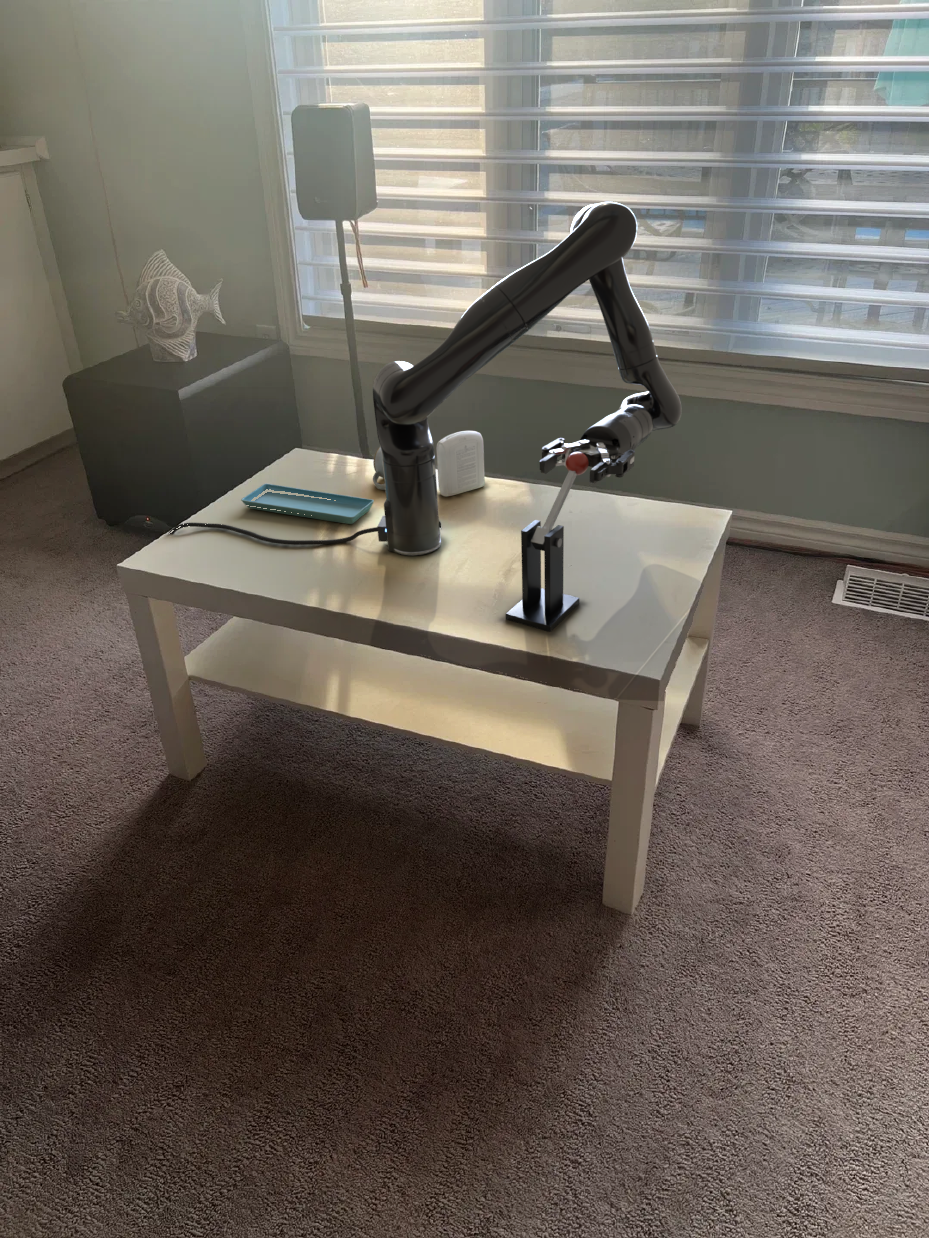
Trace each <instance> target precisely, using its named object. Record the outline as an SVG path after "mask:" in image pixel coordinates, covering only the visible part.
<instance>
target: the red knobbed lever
mask: <svg viewBox="0 0 929 1238" xmlns="http://www.w3.org/2000/svg"><path fill="white" fill-rule="evenodd" d="M588 465H589V461H588V458H587V457H586V455H585V454H583V453H581V452H574V453H572V454H570V453H569V456H568V457H567V459H566V467H565V468H566V470H567V471H568V472H567V474H566V476H565V478H564V480H563V483H562V485H561V486H560V488H559V492H558V494H557V496H556V498H555V500H554V502H553V505H552V506H551V508H550V511H549V513H548V515H547V517H546V520H545V522H544V524H543V526H541V527H539V526H537V529H536V531H535V533H534V535H533V537H532V539H531V543H532V545H533V546H534V548H535V549H538V550H541V552H544V536H545V535H546V534H547V533H549V532H550V531H551V530H552V529H554V526H555V523H556V521H557V519H558V517H559V515H560V514H561V513H560V512H561V511H562V509H563V506H564V504H565V502H566V500H567V498H568V496H569V493H570V491H571V488H572V486H573V484H574V482H575V480H576V477H577V476H580V475H583V474H584V473H586V471H587V470H588V468H589V466H588Z"/></svg>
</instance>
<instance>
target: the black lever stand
mask: <svg viewBox="0 0 929 1238" xmlns="http://www.w3.org/2000/svg"><path fill="white" fill-rule="evenodd" d="M541 525H542V523H541V520H538V519H534V520H533V521H532V522H531V523H529V524H528V525H526V526H525V527H524V528H523V529H521V530H520V543H521V545H520V547H521V549H520V550H521V587H522V588H521V595H522V596H521V597H522V598H521V600H520V601H518V602H517V603H516V604H515V605H514V606H512V607H511V609H509V610H508V611H507V612H506V613H505V620H506V621H509V622H513V623H517V624H520V625H522V626H523V625H524V626H528V627H530V628H534V629H538V630H542V631H544V632H548V633H551V632H552V631H553V630H554V629H555V628H556V627H557V626H558V625H559V624H560V623H561V622H562V621H563V620H564V619H565V618H566V617H567V616H568V615H569V614H571V613H572V611H574V609H575V608H576V607H578V605H580V597H578V596H574V595H570V594H565V593H564V552H565V551H564V546H565V545H564V544H565V542H564V538H565V537H564V536H565V535H564V533H565V532H564V531H565V529H564V528H565V527H564V525H560V524H557V525H555V527H553V528H552V530H551V531H550V532H549V533H547V534H546V535H545V536H544V551H543V552H544V553H543V554H544V555H543V556H544V561H543V563H544V588H543V587H542V550H538V549H535V548H534V546H533V545H532V543H531V539H532V537H533V535H534V533H535V531H536V529H537V526H539V527H542V526H541Z"/></svg>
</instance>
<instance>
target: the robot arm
mask: <svg viewBox="0 0 929 1238" xmlns="http://www.w3.org/2000/svg"><path fill="white" fill-rule="evenodd" d="M637 234H638V222H637V218H636V216H635V214H634V213H633V211H632V210H631V209H630V208H629V207H628V206H626V205H624V204H621V203H618V202H615V201H614V202H613V201H604V202H598V203H594V204H593V203H592V204H589V205H587V206H585V207H583V208H582V209H581V210H580V211H578V212H577V213H576V215H575V216H574V218H573V220H572V223H571V226H570V234H568V236H566V237H565V238H564V239H563V240H562V241H561V242H560V243H559V244H558V245H556V246H555V247H553V249H551V250H550V251H549V252H546V253H545V254H544V255H542V256H540V257H539V258H537V259H535V260H533V261H531V262H529V263H527V264H526V265H524V266H522V267H520V268H518V269H517V270H515V271H514V272H511V273H510V274H509V275H507V276H505V277H504V278H502V279H501V280H499V281H498V282H497V283H496V284H494V285H493V286H491V288H489V289H488V290H487V291H486V292H484V293H483V294H482V295H481V296H479V297H478V298H477V299H476V300H475V301H473V303H471V304H470V306H469V307H468V308H467V309H466V310H465V312H464V313H463V314H462V316H461V317H460V318H459V320H458V321H457V323H455V326H454V327H453V328H452V330H451V331H450V333H449V334H448V336H447V337H446V338H445V340H444V341H443V342H442V343H441V344H440V345H439V346H438V347H437V348H436V349H434V350H433V351H432V352H431V353H430V354H428V355H427V356H425V357H424V358H422V359H421V360H420V361H419V362H417V363H416V364H414V365H413V364H412V363H410V362H407V361H403V360H401V361H400V360H396V361H391V362H388V363H387V364H385V365H383V366H382V367H380V369H379V370H378V372H377V373H376V375H375V377H374V379H373V384H372V400H373V410H374V419H375V425H376V434H377V439H378V443H379V447H381V452H382V460H383V470H384V478H383V479H384V484H385V490H384V491H385V499H384V502H383V510H384V515H382V517H381V519H380V520H379V522H378V524H377V526H376V527H369V528H364V529H361V530H359V531H356V532H355V533H353V534H352V535H350V536H347V537H342V538H335V539H312V540H311V539H309V540H308V539H305V540H304V539H303V540H301V539H299V540H297V539H296V540H295V539H280V538H274V537H268V536H264V535H261V534H258V533H255V532H253V531H250V530H247V529H244V528H240V527H236V526H233V525H229V524H223V523H211V522H210V523H208V522H184V525H183V523H180V524H178V525H176V526H174V527H173V528H171V530H169V532H168V534H169V533H170V532H171V531H172V530H174V531H173V532H172V533H170V534H169V535H174V534H175V533H176V532H177V531H179V530H181V529H184V528H189V527H188V526H190V528H192V527H193V528H194V527H195V528H209V529H212V528H213V529H223V530H228V531H232V532H235V533H238V534H242V535H245V536H249V537H252V538H255V539H257V540H260V541H263V542H267V543H273V544H279V545H297V546H305V545H306V546H307V545H308V546H309V545H312V546H313V545H315V546H316V545H317V546H319V545H336V544H343V543H347V542H351V541H353V540H355V539H357V538H358V537H360V536H362V535H366V534H371V533H377V537H378V538H377V539H378V542H380V543H381V542H382V543H383V542H387V548H388V549H387V550H388V552H394V553H396V554H398V555H402V556H410V557H411V556H412V557H413V556H423V555H426V554H430V553H433V552H435V551H436V550H438V549H439V548H440V547H441V545H442V538H441V530H442V522H441V520H440V513H439V511H440V510H439V499H438V484H437V483H438V482H437V470H436V458H435V457H436V455H435V444H434V439H433V436H432V432H431V429H430V425H429V419H428V417H429V416H431V414H433V413H434V412H435V411H436V410H438V408H439V407H440V406H441V405H442V404H443V402H445V401H446V400H447V399H448V398H449V397H450V396H451V395H452V394H453V393H454V392H455V391H456V390H457V389H458V388H459V387H460V386H462V384H463V383H465V382H466V381H467V380H468V379H469V378H471V376H473V375H474V374H475V373H477V372H478V371H480V370H481V369H482V368H483V367H485V366H486V365H487V364H488V363H490V362H491V361H492V360H493V359H495V358H496V357H497V356H499V355H500V354H501V353H503V352H504V351H505V350H506V349H508V348H509V347H510V346H512V345H513V344H514V343H515V342H517V341H518V340H519V339H521V337H523V336H525V334H526V333H527V332H529V331H531V330H532V329H533V328H534V327H535V326H536V325H537V324H538V323H539V322H540V321H542V320H543V319H544V318H545V317H546V316H547V315H548V314H550V313H551V312H552V311H553V310H554V309H555V308H557V306H559V305H560V304H561V303H562V302H563V301H564V300H565V299H566V298H567V297H568V296H569V295H570V294H572V293H573V292H574V291H575V290H576V289H578V288H579V287H581V286H582V285H583V284H585V283H586V282H587V281H588V282H589V284H590V286H591V288H592V291H593V294H594V296H595V298H596V301H597V304H598V306H599V309H600V313H601V315H602V318H603V321H604V325H605V327H606V331H607V334H608V337H609V342H610V344H611V348H612V352H613V356H614V359H615V362H616V367H617V369H618V373H619V376H620V378H621V380H622V382H623V383H625V384H630V385H639V386H642V387H644V388H645V389H646V390H647V391H644V392H639V393H638V392H637V393H634V394H631V395H629V396H627V397H626V398H624V399H623V400H622V402H621V404H620V406H619V407H618V410H616V411H615V412H613V413H611V414H608V415H606V416H604V418H601V419H600V420H598V421H597V422H596V423H595V424H593V425H591V426H590V427H589V428H587V429H586V430H585V431H583V434H582V435H581V437H580V438H579V440H577V441H574V442H572V443H565V442H566V441H565V440H566V439H565V438H564V437H558V438H556V439H554V440H552V441H551V442H549V443H548V444H546V445H544V446H542V447H541V459H540V460H539V471H540V473H541V474H542V475H546V474H548V473H549V472H552V470H553V469H555V468H557V467H560V466H561V467H562V466H564V467H565V468H566V459H567V457H568V456H569V455H570V454H572V453H574V452H581V453H583V454H585V455H586V457H587V458H588V461H589V465H588V467H591V468H590V470H589V484H593V485H594V484H597V482H600V481H603V479H605V478H609V477H611V476H612V475H614V476H615V478H618V479H619V478H623V477H624V476H625V475H627V473H628V472H629V471H631V469H632V468H633V467H634V466H635V458H636V457H635V455H636V454H635V453H636V451H635V450H636V448H637V447H639V446H640V445H641V444H643V443H644V442H645V441H646V440H647V439H648V438H649V437H650V435H651V434H652V432H653V431H660V430H661V431H662V430H666V429H671V428H674V427H675V426H676V425H677V424H678V423H679V422H680V420H681V417H682V413H683V409H682V408H683V407H682V402H681V399H680V396H679V394H678V393H677V390H676V389H675V387H674V386H673V384H672V383H671V381H670V379H669V378H668V376H667V374H666V371H665V370H664V369H663V367H662V365H661V363H660V360H659V357H658V353H657V349H656V345H655V342H654V338H653V335H652V332H651V329H650V325H649V323H648V321H647V319H646V316H645V315H644V312H643V310H642V308H641V307H640V304H639V303H638V300H637V298H636V297H635V295H634V292H633V290H632V288H631V286H630V282H629V279H628V275H627V273H626V270H625V265H624V259H623V258H624V257H625V256H626V255H627V254H628V253H629V252H630V251H631V249H632V247H633V246H634V243H635V241H636V240H637V239H636V238H637ZM559 457H561V459H559V460H558V458H559ZM207 523H208V524H207ZM187 524H188V525H187ZM205 524H206V525H205ZM221 524H222V525H221ZM179 526H181V527H180V528H178V527H179ZM183 527H184V528H183ZM176 528H178V529H176Z"/></svg>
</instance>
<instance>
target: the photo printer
mask: <svg viewBox="0 0 929 1238" xmlns="http://www.w3.org/2000/svg"><path fill="white" fill-rule="evenodd" d="M484 444H485V443H484V438H483V436H482V434H481V432H478V431H476V430H462V431H457V432H453V433H451V434H448V435H446V436H444V437H442V438H441V439H440V440H438V442H437V443H436V447H435V448H436V467H437V481H438V482H437V483H438V484H437V485H438V491H439V494H440V495H441V496H443V497H451V496H455V495H459V494H462V493H466V492H469V491H473V490H477V489H479V488H482V487H484V486H485V485H486V479H485V452H484V451H485V448H484Z"/></svg>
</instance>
